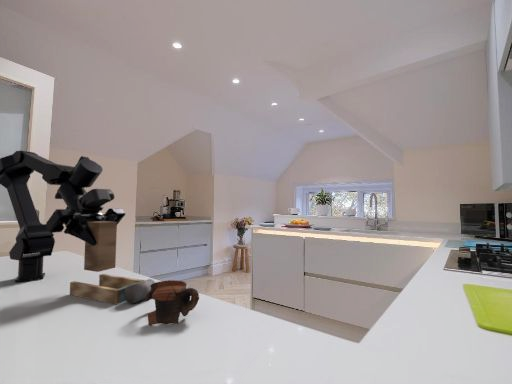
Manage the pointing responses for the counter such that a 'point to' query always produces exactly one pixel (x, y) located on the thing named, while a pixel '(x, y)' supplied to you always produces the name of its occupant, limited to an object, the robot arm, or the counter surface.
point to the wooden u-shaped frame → (113, 289)
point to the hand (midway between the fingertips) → (104, 243)
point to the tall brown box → (101, 246)
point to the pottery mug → (171, 301)
